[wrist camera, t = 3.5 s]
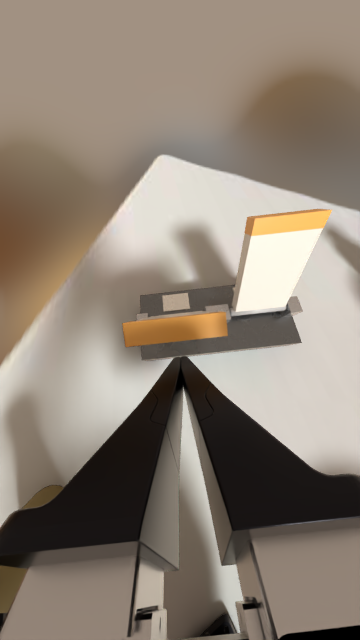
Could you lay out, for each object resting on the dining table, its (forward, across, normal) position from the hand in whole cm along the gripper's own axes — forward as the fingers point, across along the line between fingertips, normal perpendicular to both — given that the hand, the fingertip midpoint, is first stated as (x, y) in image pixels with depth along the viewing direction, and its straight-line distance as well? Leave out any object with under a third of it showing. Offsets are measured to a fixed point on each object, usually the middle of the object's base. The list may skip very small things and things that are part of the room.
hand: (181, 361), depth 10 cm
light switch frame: (+12, +5, -4) cm, 13 cm away
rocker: (+9, 0, -1) cm, 9 cm away
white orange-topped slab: (+9, +10, -1) cm, 13 cm away
